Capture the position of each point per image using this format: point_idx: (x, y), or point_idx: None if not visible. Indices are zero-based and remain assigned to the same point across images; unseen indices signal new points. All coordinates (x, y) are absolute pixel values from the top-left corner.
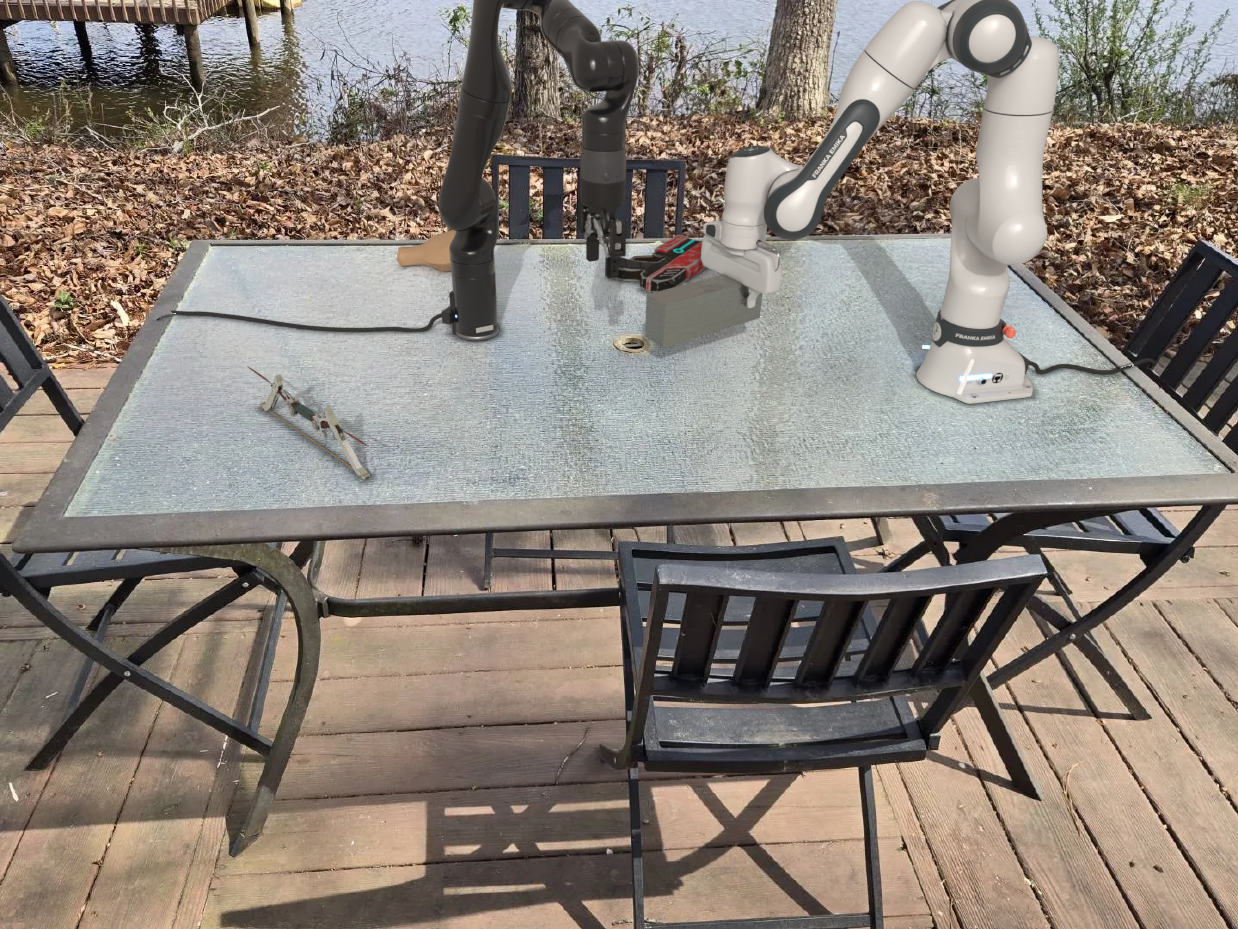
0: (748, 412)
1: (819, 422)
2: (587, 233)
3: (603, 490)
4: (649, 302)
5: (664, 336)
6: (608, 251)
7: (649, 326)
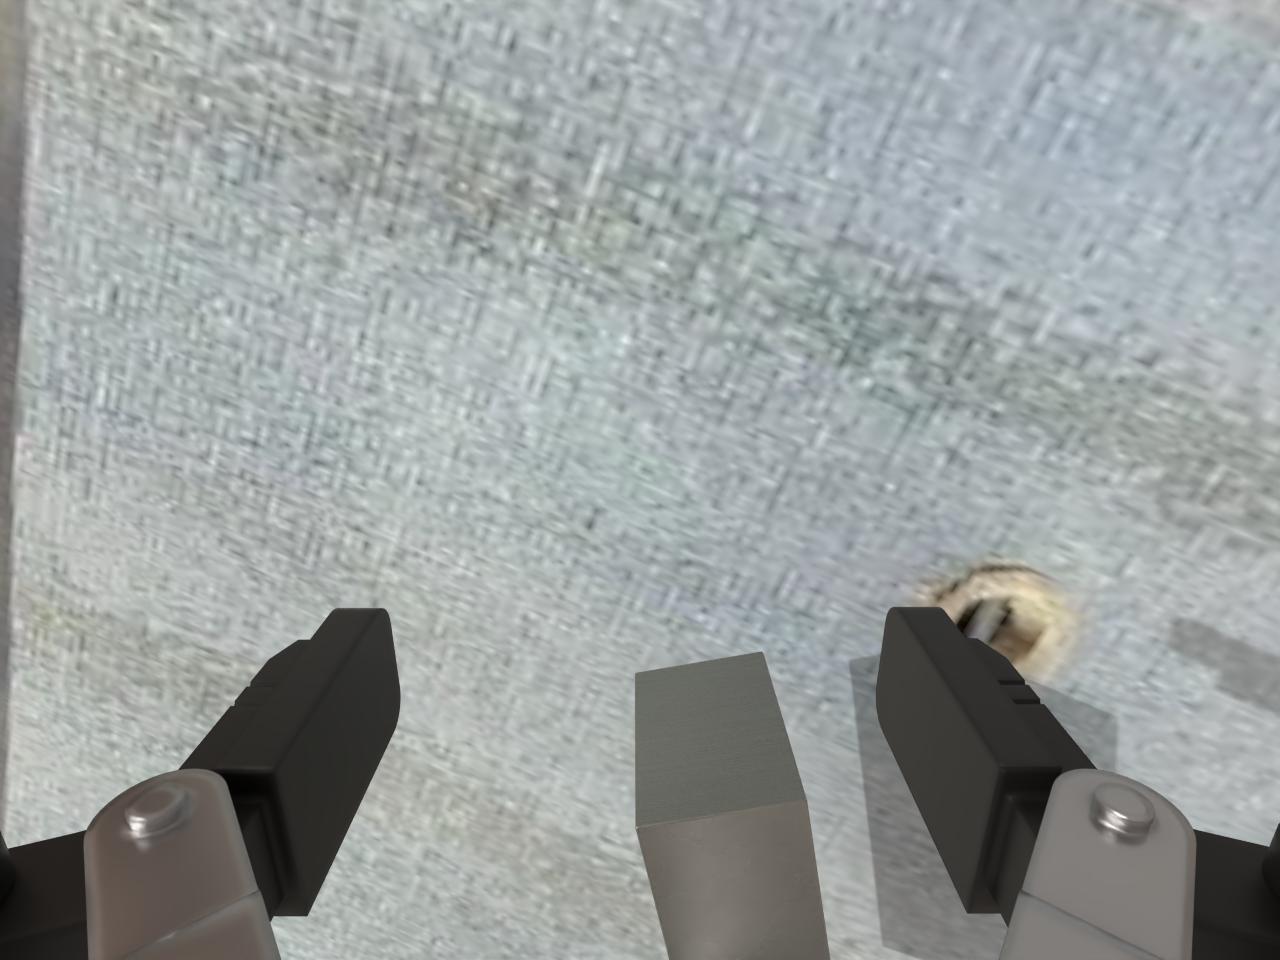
0: (425, 740)
1: None
2: (1068, 884)
3: (59, 116)
4: (767, 778)
5: (635, 709)
6: (85, 875)
7: (740, 693)
